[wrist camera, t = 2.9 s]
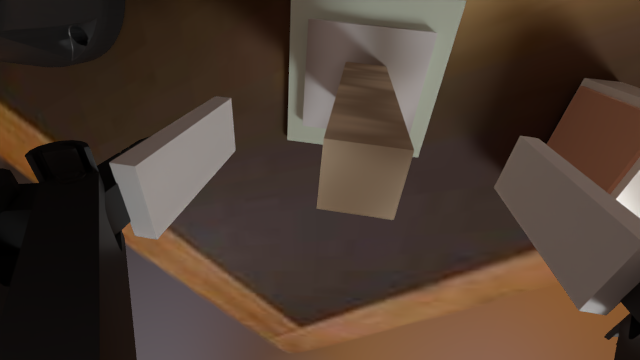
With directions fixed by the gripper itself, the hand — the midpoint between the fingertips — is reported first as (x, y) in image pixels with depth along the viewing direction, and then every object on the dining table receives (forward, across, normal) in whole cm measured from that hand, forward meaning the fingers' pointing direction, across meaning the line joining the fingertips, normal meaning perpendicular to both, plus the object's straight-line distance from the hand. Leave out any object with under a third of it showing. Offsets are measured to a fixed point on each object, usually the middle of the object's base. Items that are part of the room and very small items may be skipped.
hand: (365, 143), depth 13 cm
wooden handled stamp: (+11, 0, 0) cm, 11 cm away
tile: (+12, +17, -3) cm, 21 cm away
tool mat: (+12, 0, 0) cm, 12 cm away
